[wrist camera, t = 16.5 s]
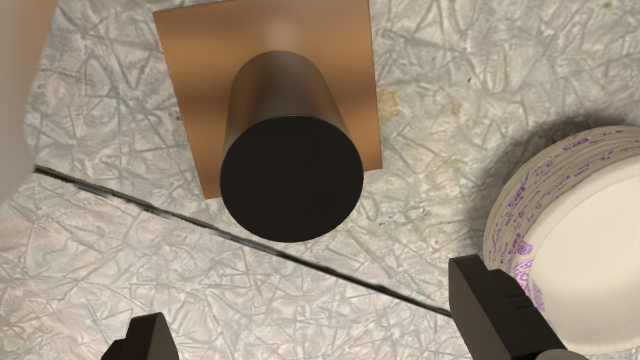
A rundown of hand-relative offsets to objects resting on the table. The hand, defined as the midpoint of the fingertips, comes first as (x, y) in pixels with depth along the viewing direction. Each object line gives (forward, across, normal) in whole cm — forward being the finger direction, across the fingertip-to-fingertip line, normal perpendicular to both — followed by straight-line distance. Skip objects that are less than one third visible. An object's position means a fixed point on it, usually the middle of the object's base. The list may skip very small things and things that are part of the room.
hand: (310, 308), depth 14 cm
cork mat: (+19, 0, 0) cm, 19 cm away
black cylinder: (+19, 0, 0) cm, 19 cm away
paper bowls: (+19, -20, +12) cm, 30 cm away
